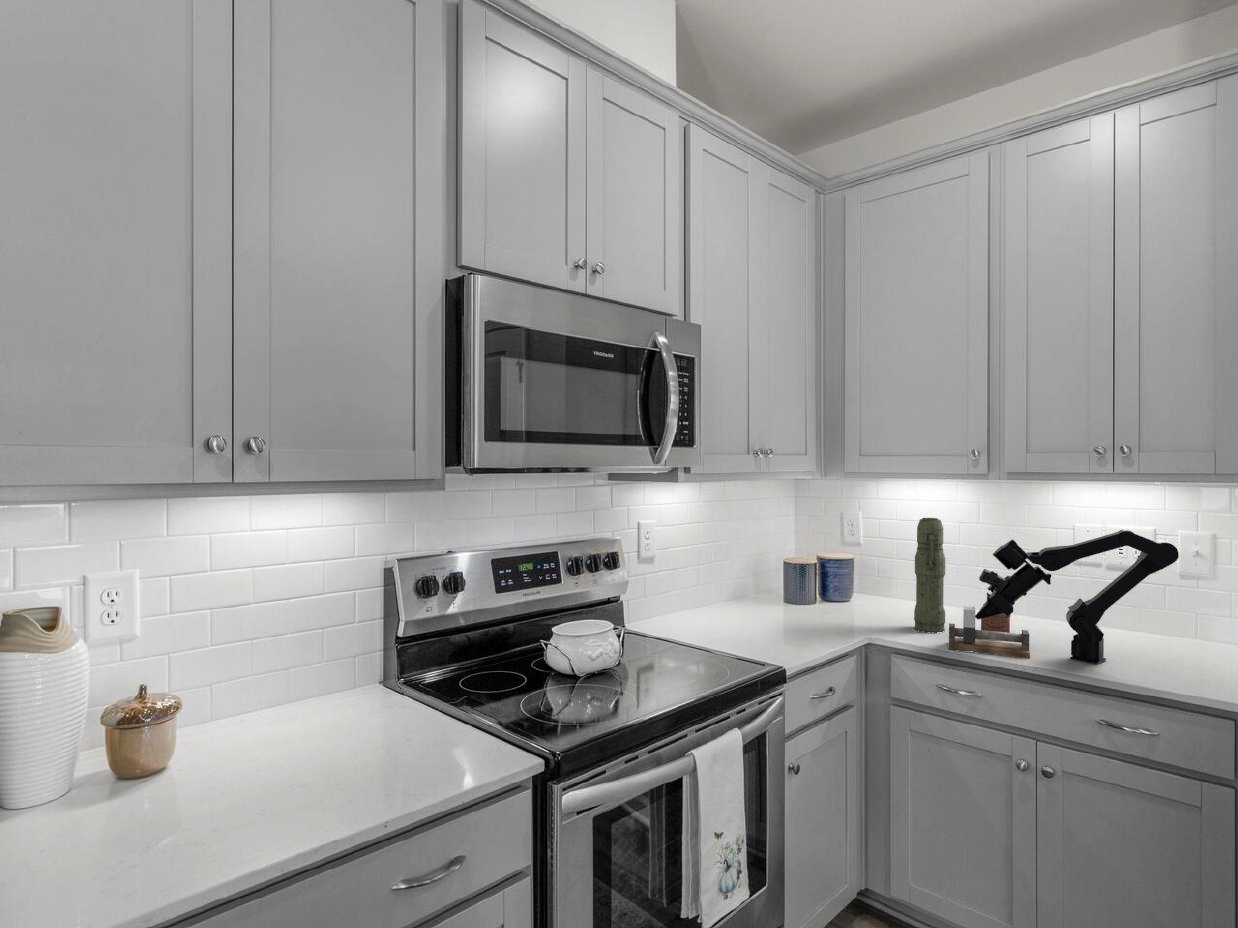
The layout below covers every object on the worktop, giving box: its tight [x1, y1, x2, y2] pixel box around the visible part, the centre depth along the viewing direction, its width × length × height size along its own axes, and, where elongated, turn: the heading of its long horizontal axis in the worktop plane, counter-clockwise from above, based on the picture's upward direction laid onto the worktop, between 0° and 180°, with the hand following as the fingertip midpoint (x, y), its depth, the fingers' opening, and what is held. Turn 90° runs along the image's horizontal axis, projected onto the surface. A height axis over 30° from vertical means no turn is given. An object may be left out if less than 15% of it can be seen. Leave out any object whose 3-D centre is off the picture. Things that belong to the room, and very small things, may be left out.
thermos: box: [913, 517, 946, 634], centre depth 230 cm, size 9×12×35 cm
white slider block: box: [962, 605, 976, 643], centre depth 208 cm, size 3×5×9 cm, turn 155°
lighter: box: [980, 602, 1012, 633], centre depth 220 cm, size 8×3×10 cm, turn 59°
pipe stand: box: [948, 622, 1031, 659], centre depth 206 cm, size 20×9×6 cm, turn 65°
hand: (976, 617), depth 207 cm, fingers closed, pressing on white slider block
